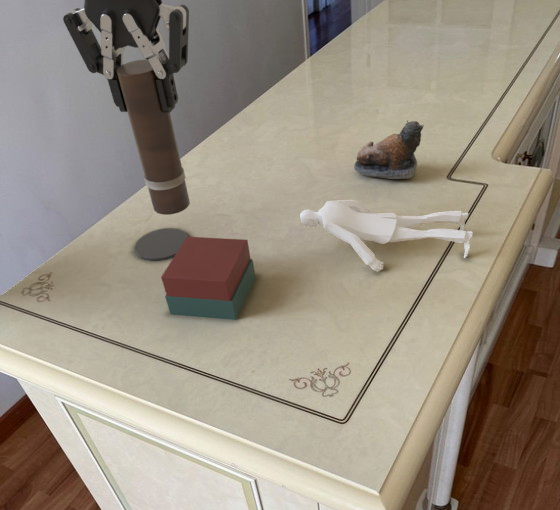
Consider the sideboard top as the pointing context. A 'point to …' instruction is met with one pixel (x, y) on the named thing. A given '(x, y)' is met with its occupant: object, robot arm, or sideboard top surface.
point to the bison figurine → (391, 154)
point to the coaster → (160, 244)
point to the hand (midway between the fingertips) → (148, 109)
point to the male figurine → (381, 227)
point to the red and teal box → (209, 278)
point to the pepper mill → (153, 138)
